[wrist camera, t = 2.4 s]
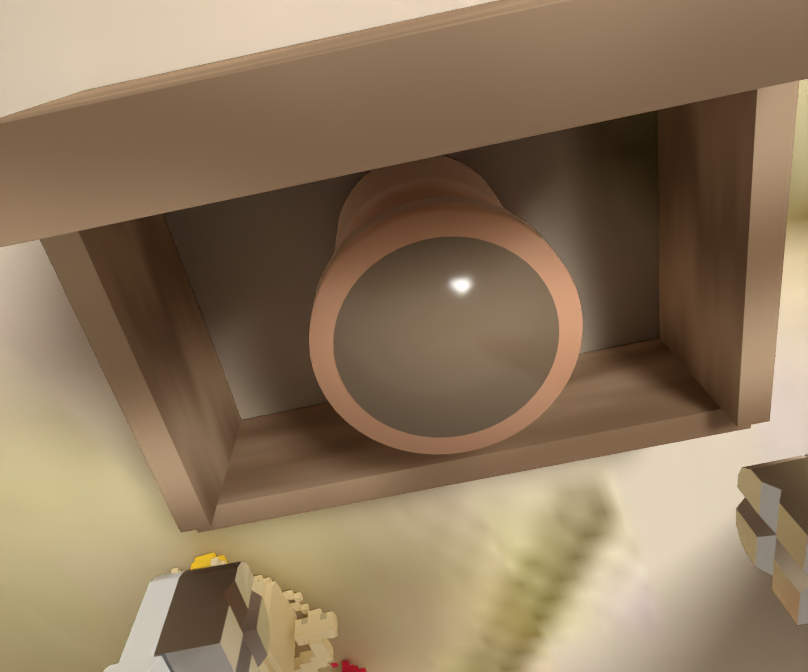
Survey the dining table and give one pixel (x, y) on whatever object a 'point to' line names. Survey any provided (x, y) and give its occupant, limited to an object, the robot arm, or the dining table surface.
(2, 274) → the dining table surface
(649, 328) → the dining table surface
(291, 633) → the cream toy figurine
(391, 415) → the terracotta pot
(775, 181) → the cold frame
